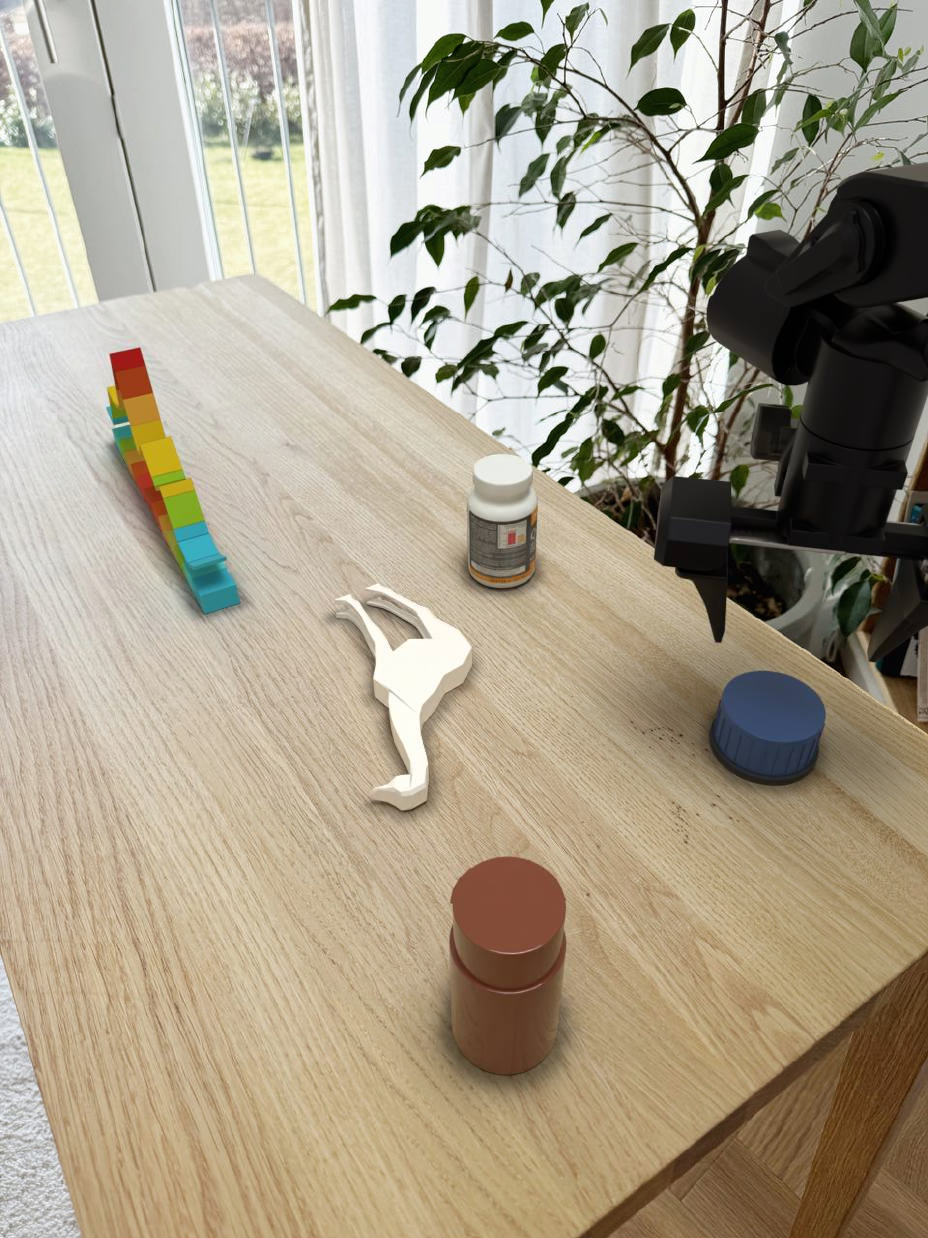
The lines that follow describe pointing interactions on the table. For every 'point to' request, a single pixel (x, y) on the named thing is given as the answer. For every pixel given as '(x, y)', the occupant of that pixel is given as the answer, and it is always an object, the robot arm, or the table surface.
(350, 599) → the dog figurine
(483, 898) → the jar
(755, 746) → the lid
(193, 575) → the chart
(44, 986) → the table surface
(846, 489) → the robot arm
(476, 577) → the pill bottle
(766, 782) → the coaster
